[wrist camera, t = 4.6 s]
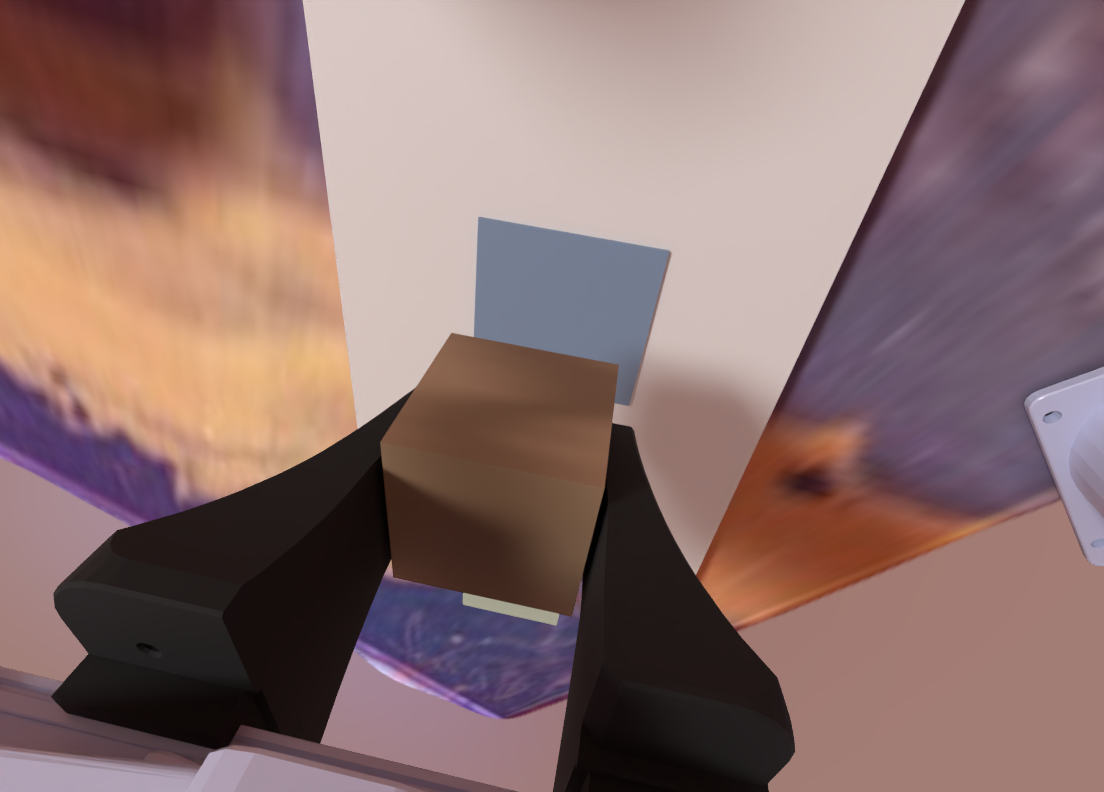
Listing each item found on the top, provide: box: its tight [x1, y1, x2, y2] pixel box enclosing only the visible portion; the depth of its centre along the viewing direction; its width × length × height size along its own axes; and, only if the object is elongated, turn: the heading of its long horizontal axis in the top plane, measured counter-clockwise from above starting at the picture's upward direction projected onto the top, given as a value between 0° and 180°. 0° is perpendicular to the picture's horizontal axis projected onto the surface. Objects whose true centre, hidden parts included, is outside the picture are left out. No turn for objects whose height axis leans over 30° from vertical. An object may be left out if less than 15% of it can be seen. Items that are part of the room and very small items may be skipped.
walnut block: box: [380, 333, 619, 617], centre depth 12 cm, size 4×4×4 cm
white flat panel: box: [303, 0, 965, 575], centre depth 19 cm, size 16×26×1 cm, turn 173°
